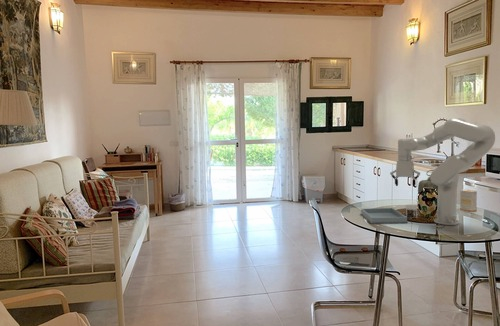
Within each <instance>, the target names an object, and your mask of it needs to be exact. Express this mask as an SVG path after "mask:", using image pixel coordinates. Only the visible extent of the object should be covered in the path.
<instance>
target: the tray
mask: <svg viewBox="0 0 500 326" xmlns="http://www.w3.org/2000/svg"><path fill="white" fill-rule="evenodd" d="M360 215H362V216H363V217H364V218H365V219H366V220H367V221H368V222H369V223H370V224H371V225H376V224H377V225H380V224H382V225H383V224H386V225H387V224H408V218H407V217H406V215H405V214H403V213H401V212H400V211H398V210H396V209H395V208H393V207H383V208H381V207H380V208H379V207H377V208H375V207H374V208H370V207H369V208H360Z"/></svg>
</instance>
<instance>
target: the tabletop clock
mask: <svg viewBox="0 0 500 326" xmlns="http://www.w3.org/2000/svg"><path fill="white" fill-rule="evenodd" d="M434 170H435V169H434ZM434 170H433V169H430V170H427V171H426V176H428V177H427V179H422V180H420V181H418V185H417V195H418V194H419V192H420V191H422V190H423V187H433V188H435V189H436V191H437V192H438V186H437V185H434V184H433V183H432V182H431V179H430V176H431V174H428V173H429V172H433V171H434Z"/></svg>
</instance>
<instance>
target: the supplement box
mask: <svg viewBox="0 0 500 326" xmlns="http://www.w3.org/2000/svg"><path fill="white" fill-rule="evenodd" d="M459 193H460V194H459V197H460V199H459V205H460V206H459V209H460V210H462V211H467V212H472V213H473V212H477V209H478V208H477V207H478V206H477V205H478V203H477V201H478V195H477V194H478V191H477V190H471V189H466V188H465V189H460V192H459Z"/></svg>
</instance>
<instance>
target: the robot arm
mask: <svg viewBox="0 0 500 326" xmlns="http://www.w3.org/2000/svg"><path fill="white" fill-rule="evenodd" d="M454 137H456V138H458V139H461V140H463V141H464V140H465V141H467V142H472V143H471V144H470V145H469V146H467V147H466V148H465V149H463V151H461V152H460V153H459V154H456V155H452V156H449V157H447V158H446V159H444V161H443V162H441V163H440V164H439V165H438V166H437V167H436V168H434V171H431V173H430V175H431V176H429V177H430V179H431V182H432V183H433V184H434V185H437V186H438V195H437V205H436V206H437V208H436V209H437V210H436V211H437V213H436V216H437V217H436V218H434V219H433V222H434V223H436V224H439V225H444V226H456V225H459V224H460V220H458V219H457V195H458V194H457V193H458V184H459V174H460V173H463V172H466V171H469V169H470V168H471V167H472V166H474V165H475V164H476V163H477V162H479V161H480V159H482V158H483V157H484V156H485V155H487V153H489V152H490V151H491V149H492V148H493V146H494V145H495V143H496V134H495V131H494V129H493V128H492V127H491V126H489V125H486V124H472V123H468V121H467V120H465V119H464V118H461V117H460V118H459V117H458V118H457V117H455V118H449V119H447V120H446V121H445V122H444V124H442V125H439V126H437V127H434V129H433V131H432V132H431V133H429V134H427V135H425V136H422V137H412V138H399V139H398V140H397V159H398V160H397V161H396V164H395V165H396V166H395V170H392V171H391V172H390V173H389V174H390V176H391V177H392V178H393V180H394V184H395V186H396V187H398V185H399V179H398V178H402V177H403V178H411V179H412V187H415V186H416V183H417V182H416V180H417V179H418V178H420V177H419V176H421V172H419V171H417V170H415V165H414V159H415V157H414V156H413V155H412V152H416V151H423V150H426V149H430V148H431V147H434V146H436V145H438V144H441V143H442V142H444V141H447V140H449V139H451V138H454ZM394 174H395V175H394ZM415 174H416V176H415Z"/></svg>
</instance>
